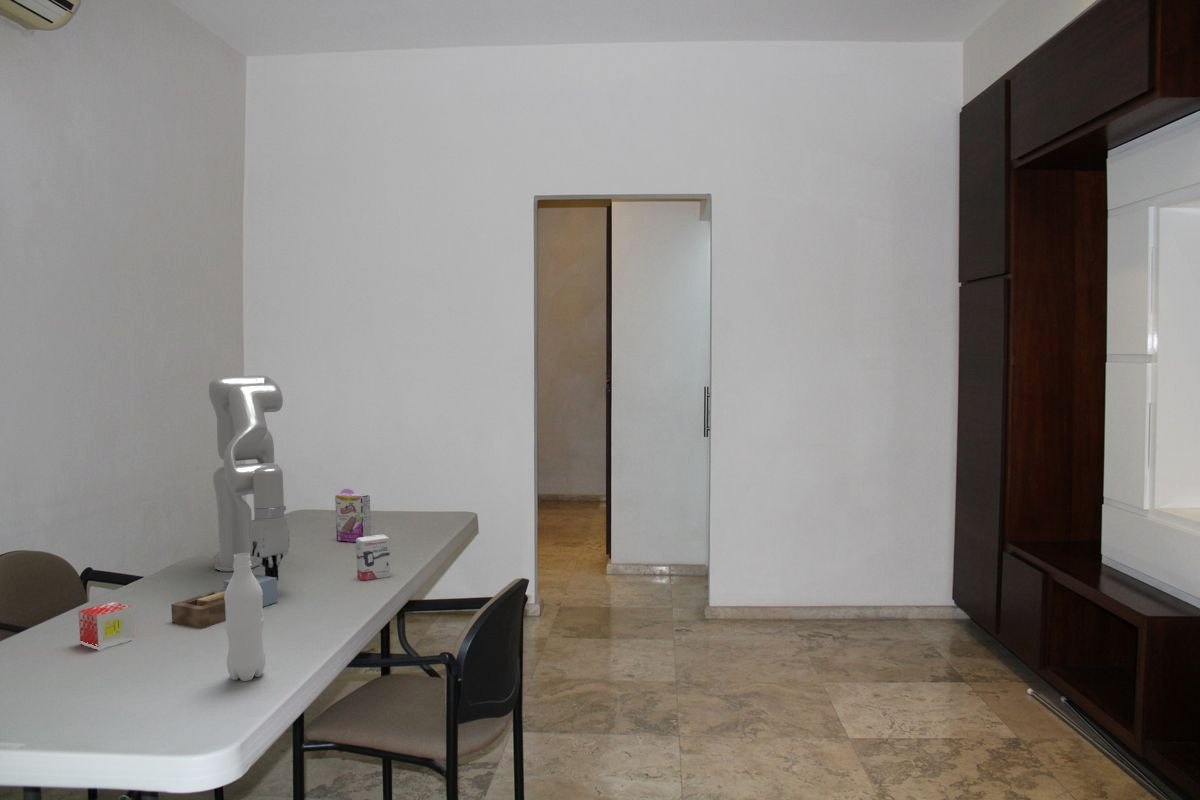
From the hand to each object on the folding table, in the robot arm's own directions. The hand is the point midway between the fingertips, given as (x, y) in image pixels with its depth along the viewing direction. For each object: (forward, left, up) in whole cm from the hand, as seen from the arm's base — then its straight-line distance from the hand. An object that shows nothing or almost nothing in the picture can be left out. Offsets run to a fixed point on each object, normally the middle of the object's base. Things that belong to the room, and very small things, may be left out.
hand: (272, 580), depth 228 cm
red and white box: (-6, -42, -5) cm, 43 cm away
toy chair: (-45, +77, -5) cm, 89 cm away
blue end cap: (0, -7, -4) cm, 8 cm away
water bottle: (+41, -43, -5) cm, 60 cm away
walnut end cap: (0, -20, -4) cm, 20 cm away
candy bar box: (-29, +61, -5) cm, 68 cm away
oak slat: (0, -13, -5) cm, 14 cm away
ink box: (+11, +27, -5) cm, 30 cm away
